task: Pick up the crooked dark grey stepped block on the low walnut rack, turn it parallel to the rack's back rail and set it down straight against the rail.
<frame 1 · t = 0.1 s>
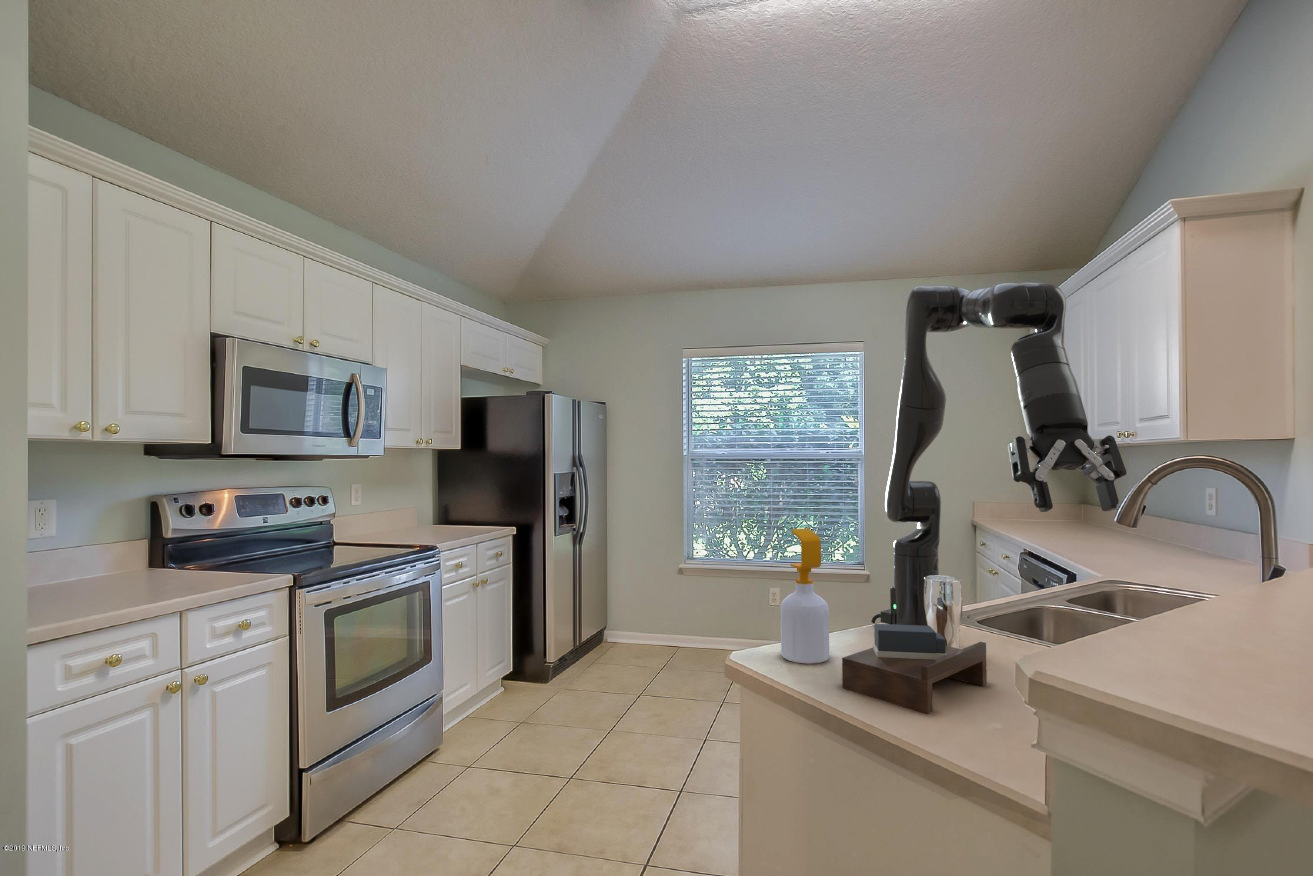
hand: (1078, 510, 89), 31 cm above the countertop, tool tilted 20°, fingers open, 8 cm apart
soap bottle: (805, 658, 128), on the countertop
dark grey stepped block: (909, 654, 112), point 5 cm above the countertop, touching rack
beer glass: (943, 657, 128), on the countertop
rack: (915, 686, 111), on the countertop
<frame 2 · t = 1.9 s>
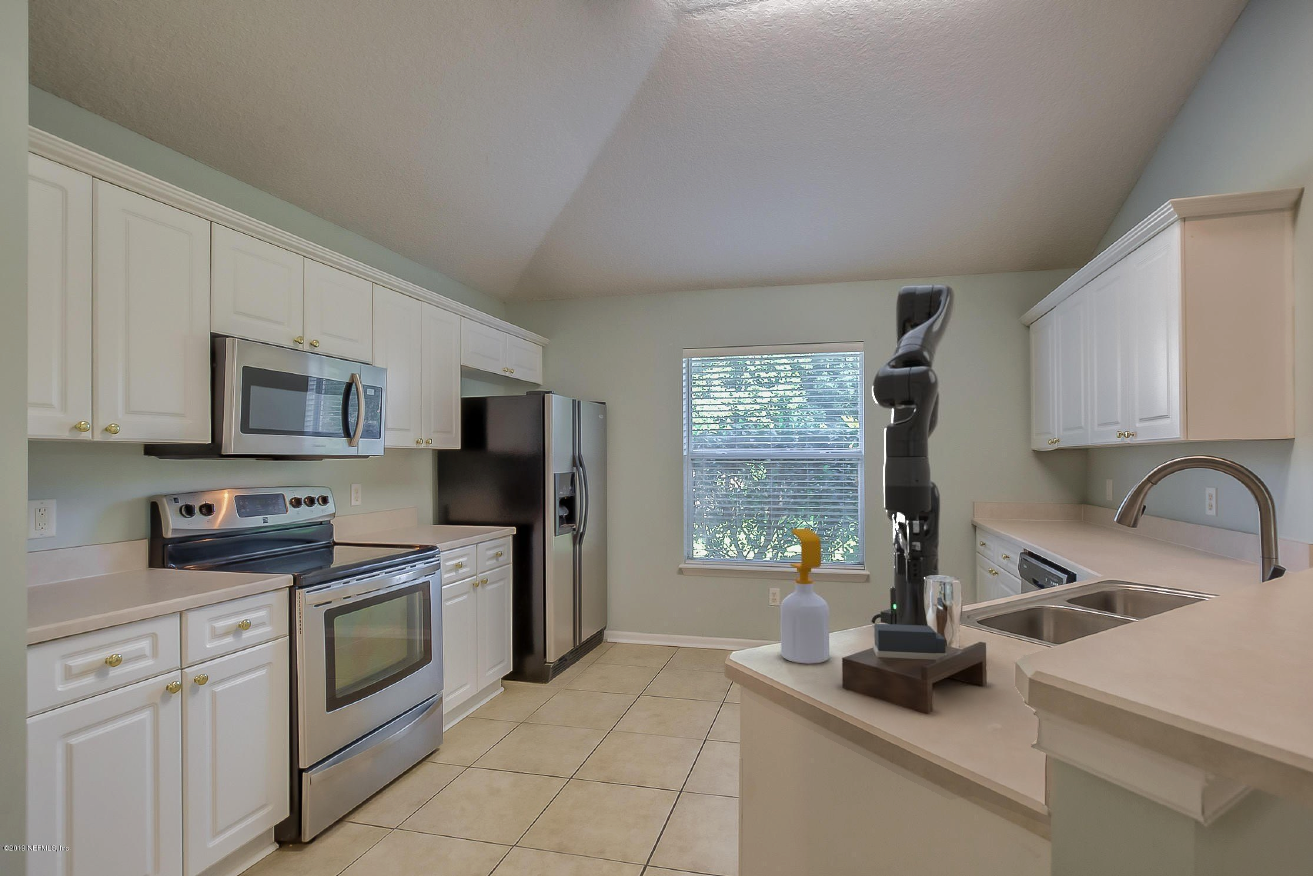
hand: (908, 578, 113), 18 cm above the countertop, tool pointing down, fingers open, 8 cm apart
nothing on the countertop moved.
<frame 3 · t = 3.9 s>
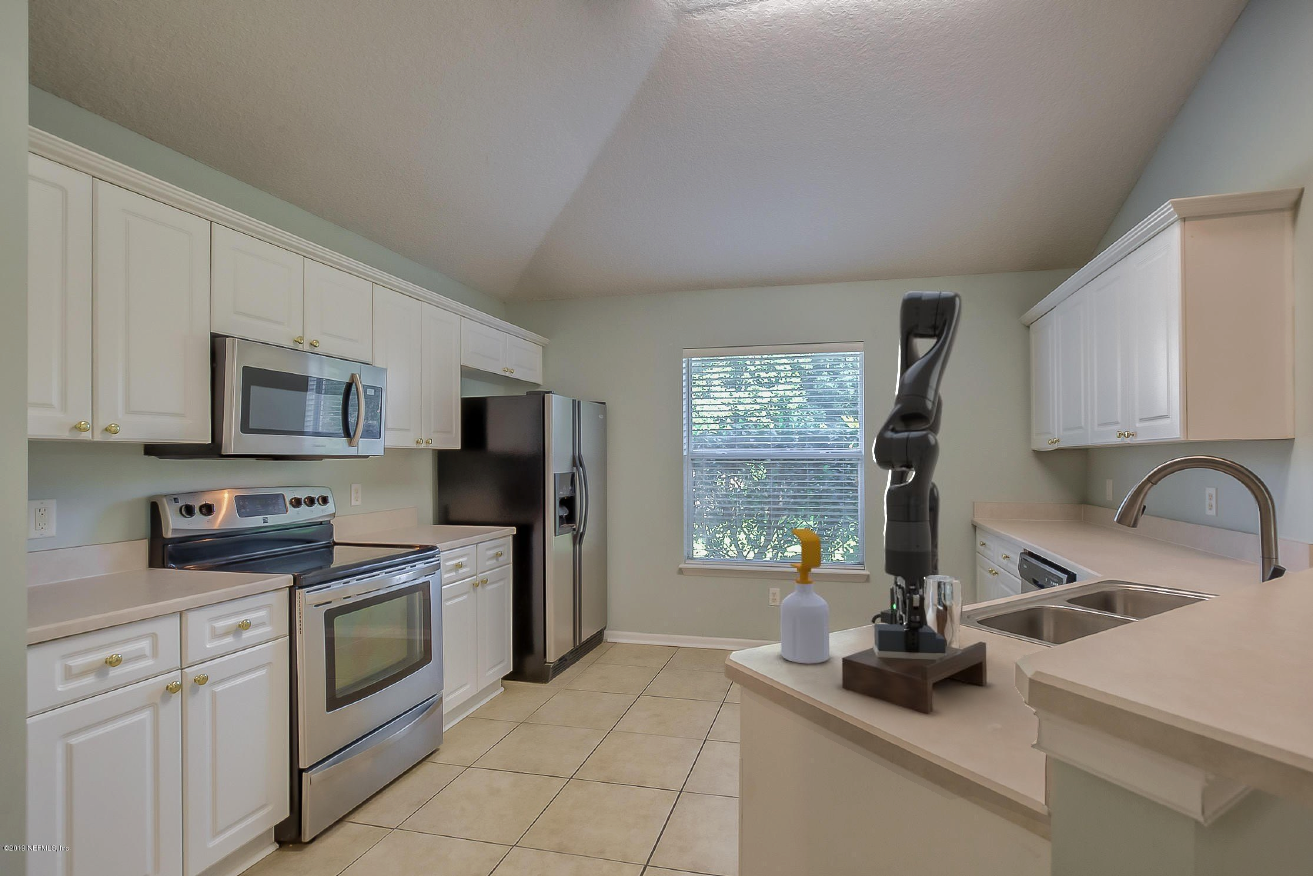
hand: (908, 647, 112), 6 cm above the countertop, tool pointing down, fingers closed on dark grey stepped block, 4 cm apart
dark grey stepped block: (909, 654, 112), point 5 cm above the countertop, touching gripper, rack
everything else where it was.
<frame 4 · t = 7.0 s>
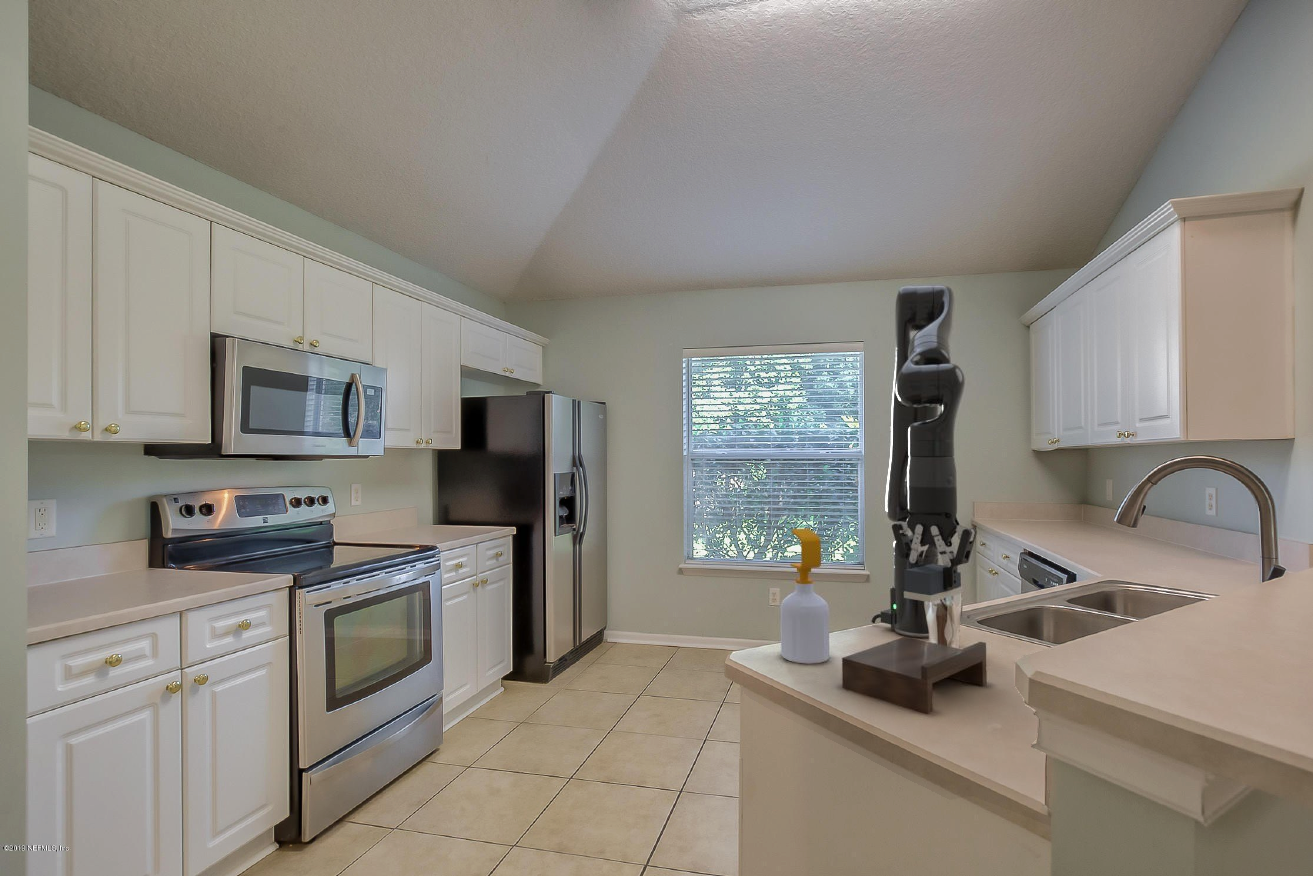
hand: (933, 587, 109), 17 cm above the countertop, tool pointing down, fingers closed on dark grey stepped block, 4 cm apart
dark grey stepped block: (933, 595, 109), point 16 cm above the countertop, touching gripper
everything else where it was.
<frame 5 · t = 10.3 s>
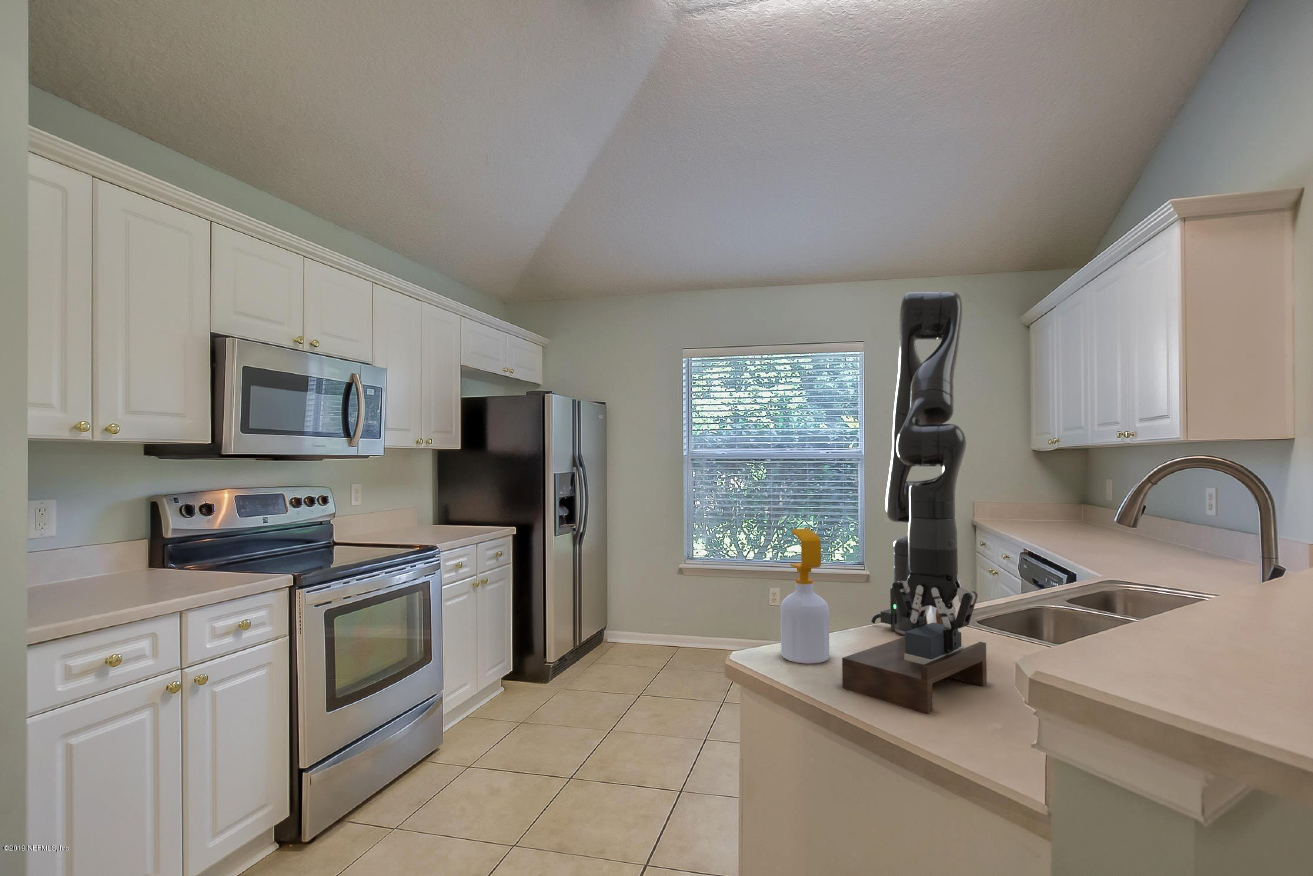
hand: (934, 648, 109), 7 cm above the countertop, tool pointing down, fingers closed on dark grey stepped block, 4 cm apart
dark grey stepped block: (934, 656, 109), point 6 cm above the countertop, touching gripper
everything else where it was.
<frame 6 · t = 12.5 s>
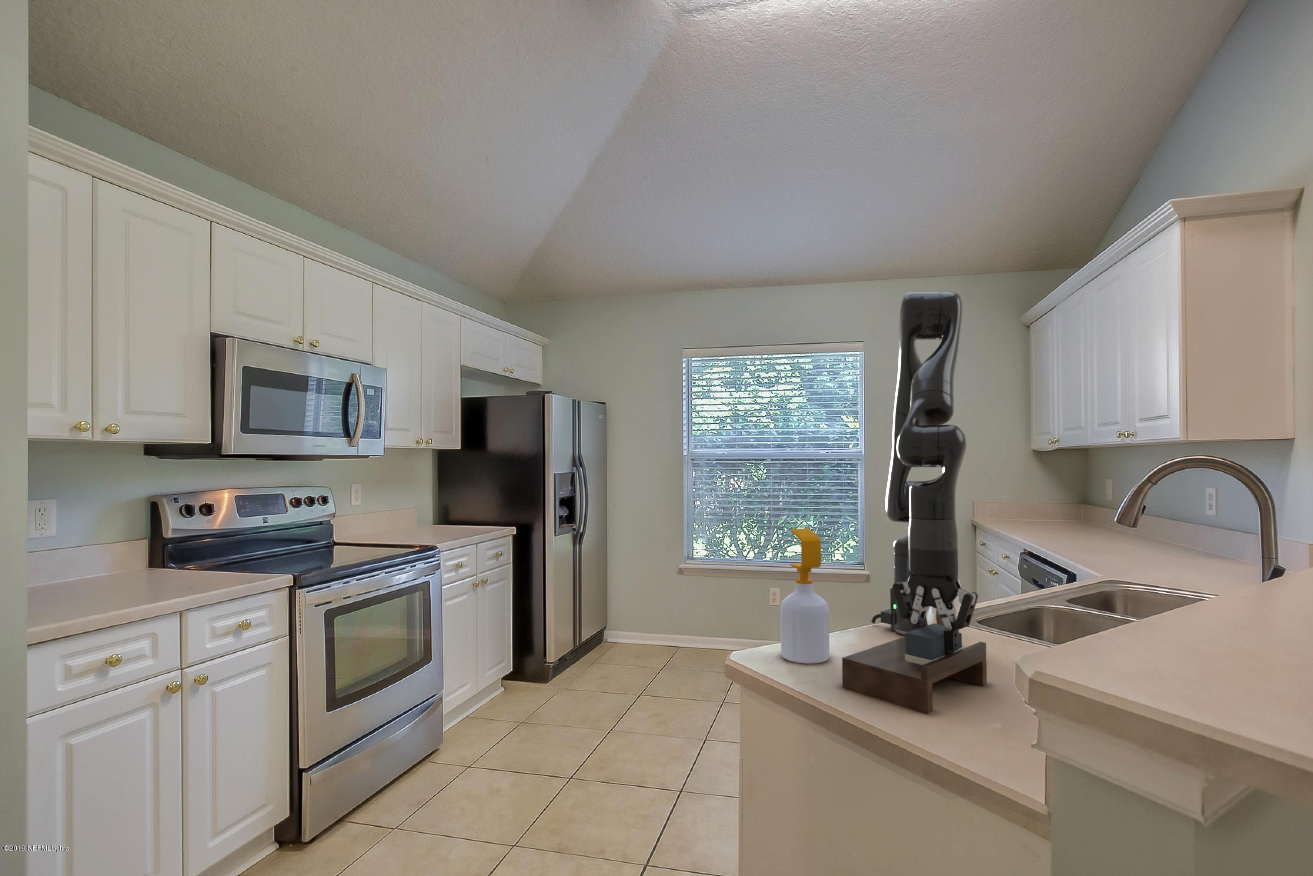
hand: (934, 649, 109), 7 cm above the countertop, tool pointing down, fingers closed on dark grey stepped block, 4 cm apart
dark grey stepped block: (934, 657, 109), point 6 cm above the countertop, touching gripper
everything else where it was.
when the fingers open (7 cm above the countertop, at t = 14.5 s): dark grey stepped block drops 1 cm, resting on rack.
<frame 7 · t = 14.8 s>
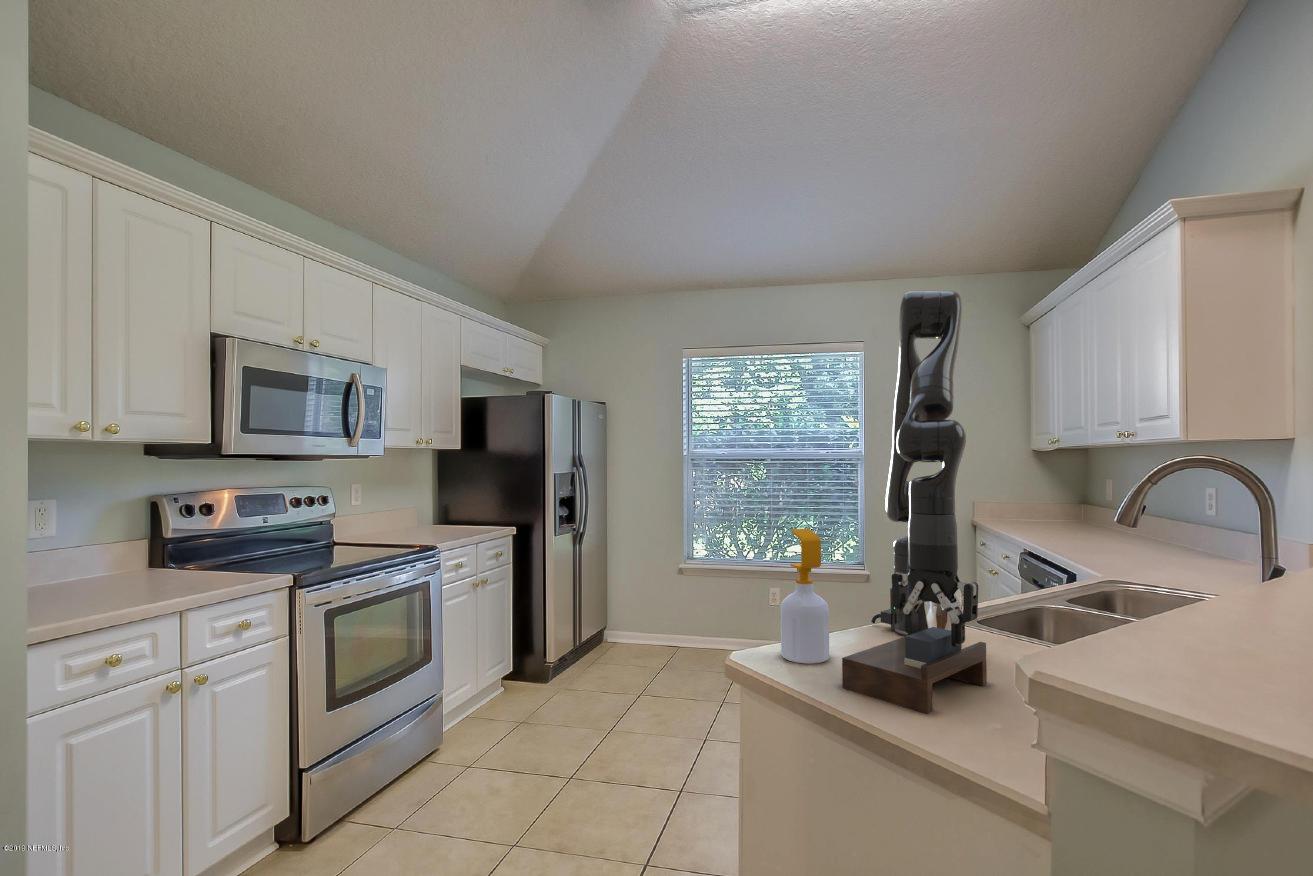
hand: (934, 640, 109), 8 cm above the countertop, tool pointing down, fingers open, 7 cm apart
dark grey stepped block: (934, 660, 109), point 5 cm above the countertop, touching rack
everything else where it was.
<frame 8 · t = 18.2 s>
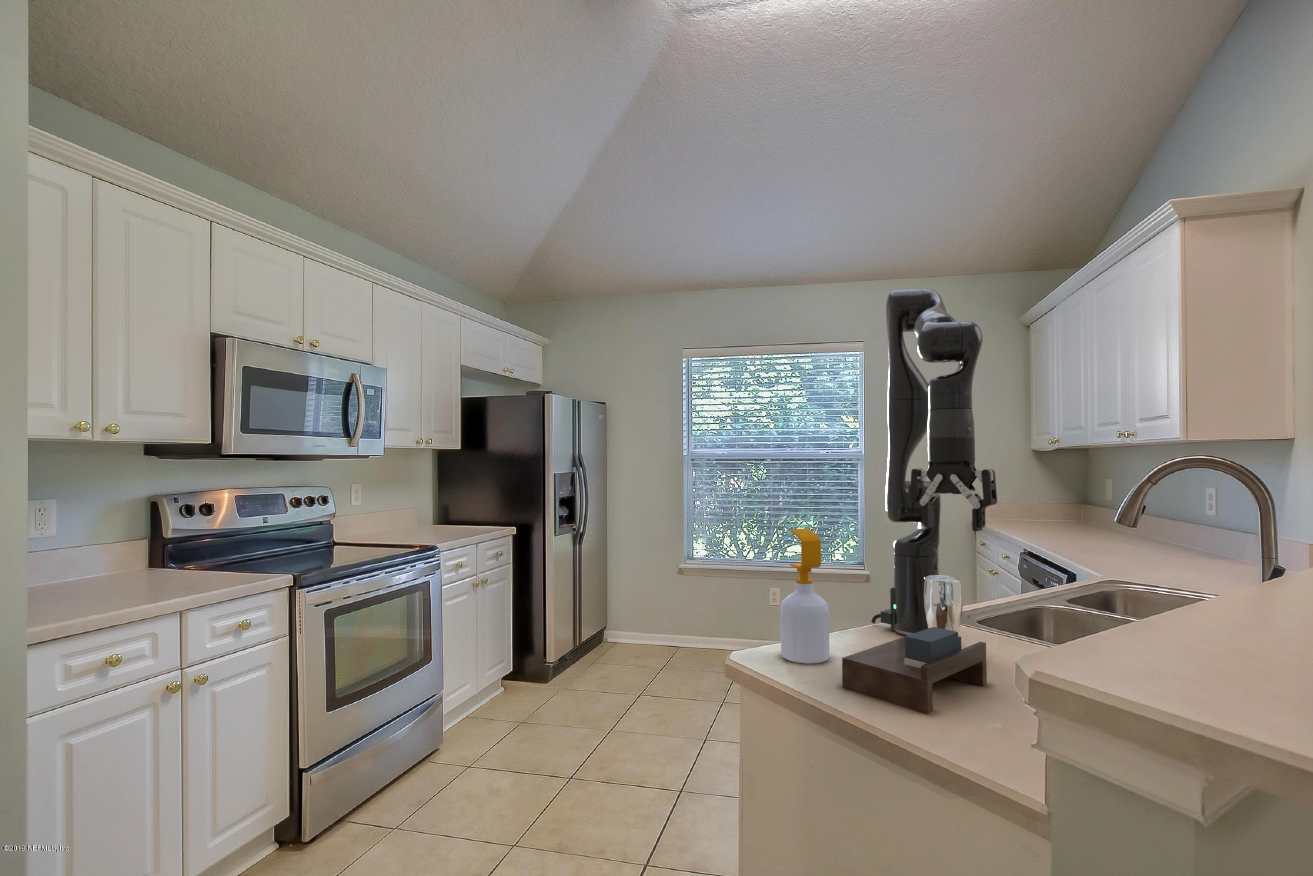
hand: (952, 528, 115), 26 cm above the countertop, tool pointing down, fingers open, 8 cm apart
nothing on the countertop moved.
at the end: dark grey stepped block 0.3 cm from the target spot, point 5.0 cm above the countertop; dark grey stepped block tilted 0°; the gripper is holding nothing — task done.
